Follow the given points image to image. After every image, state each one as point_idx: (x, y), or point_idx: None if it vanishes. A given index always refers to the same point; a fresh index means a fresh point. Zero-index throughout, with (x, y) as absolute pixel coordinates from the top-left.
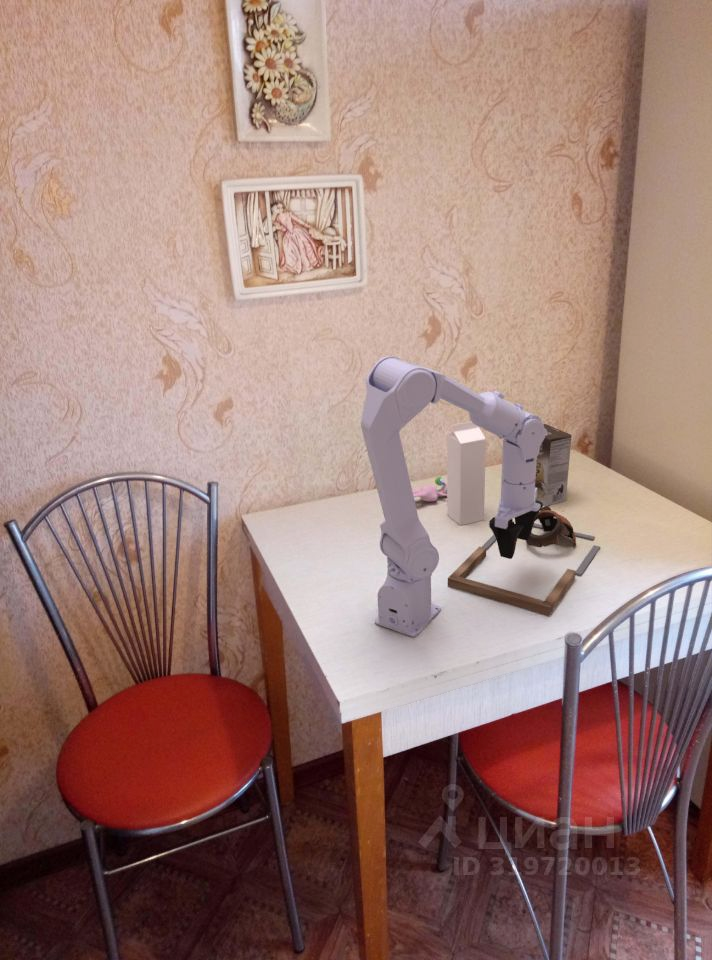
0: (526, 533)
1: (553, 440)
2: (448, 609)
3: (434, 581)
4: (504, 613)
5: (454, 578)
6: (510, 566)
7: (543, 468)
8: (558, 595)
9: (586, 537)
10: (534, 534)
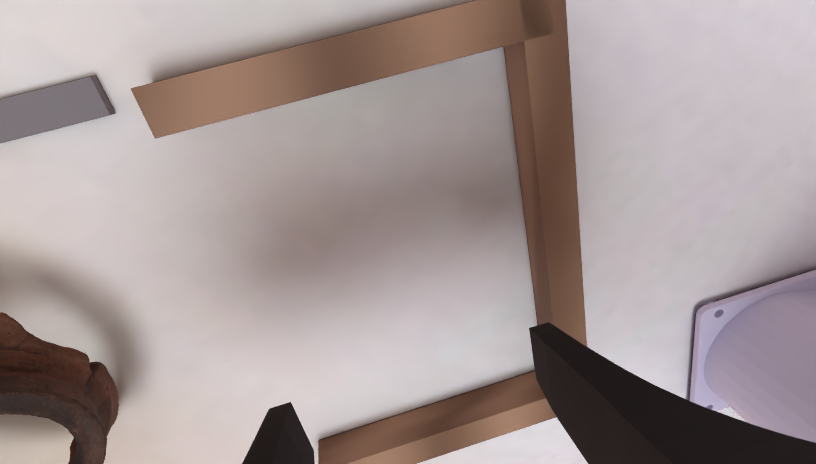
0: (290, 453)
1: None
2: (682, 293)
3: None
4: (613, 149)
5: None
6: (307, 347)
7: None
8: (433, 11)
9: None
10: (82, 444)
